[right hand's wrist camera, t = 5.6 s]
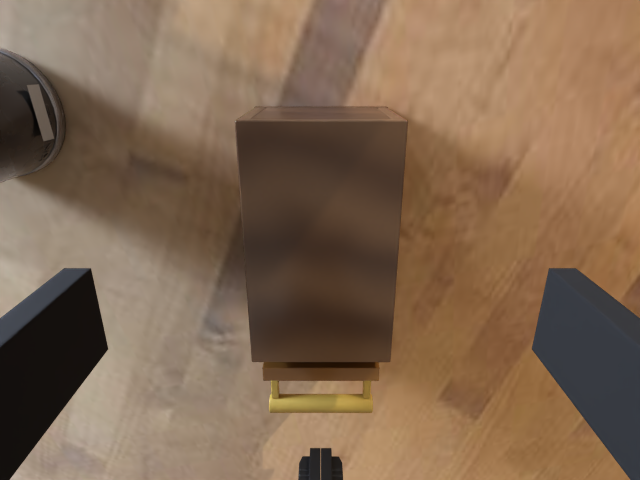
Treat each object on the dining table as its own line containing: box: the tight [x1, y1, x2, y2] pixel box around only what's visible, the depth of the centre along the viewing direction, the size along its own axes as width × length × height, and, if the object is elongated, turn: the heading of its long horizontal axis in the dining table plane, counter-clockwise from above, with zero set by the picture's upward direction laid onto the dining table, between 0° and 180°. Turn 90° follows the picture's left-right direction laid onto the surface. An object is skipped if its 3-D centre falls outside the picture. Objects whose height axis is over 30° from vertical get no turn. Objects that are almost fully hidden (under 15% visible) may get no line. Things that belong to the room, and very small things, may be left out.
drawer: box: [263, 362, 379, 413], centre depth 34 cm, size 22×9×7 cm, turn 0°
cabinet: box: [235, 107, 408, 362], centre depth 32 cm, size 17×10×9 cm, turn 0°
